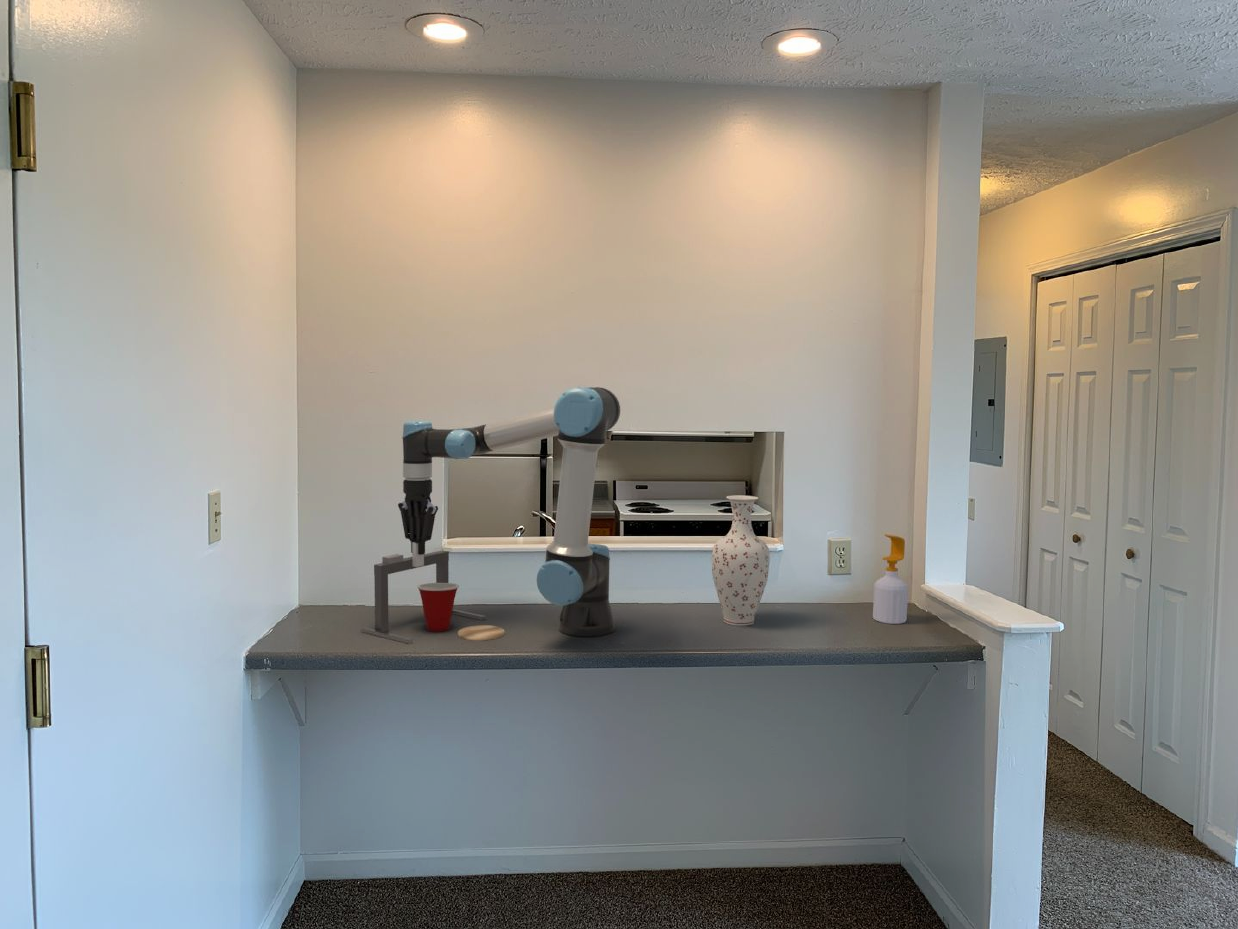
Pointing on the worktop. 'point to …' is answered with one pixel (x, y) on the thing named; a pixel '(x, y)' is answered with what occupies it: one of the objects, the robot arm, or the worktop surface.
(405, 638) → the track
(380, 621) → the gantry frame
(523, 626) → the worktop surface
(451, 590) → the plastic cup
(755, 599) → the vase
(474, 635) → the cork mat
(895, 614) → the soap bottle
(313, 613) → the worktop surface
